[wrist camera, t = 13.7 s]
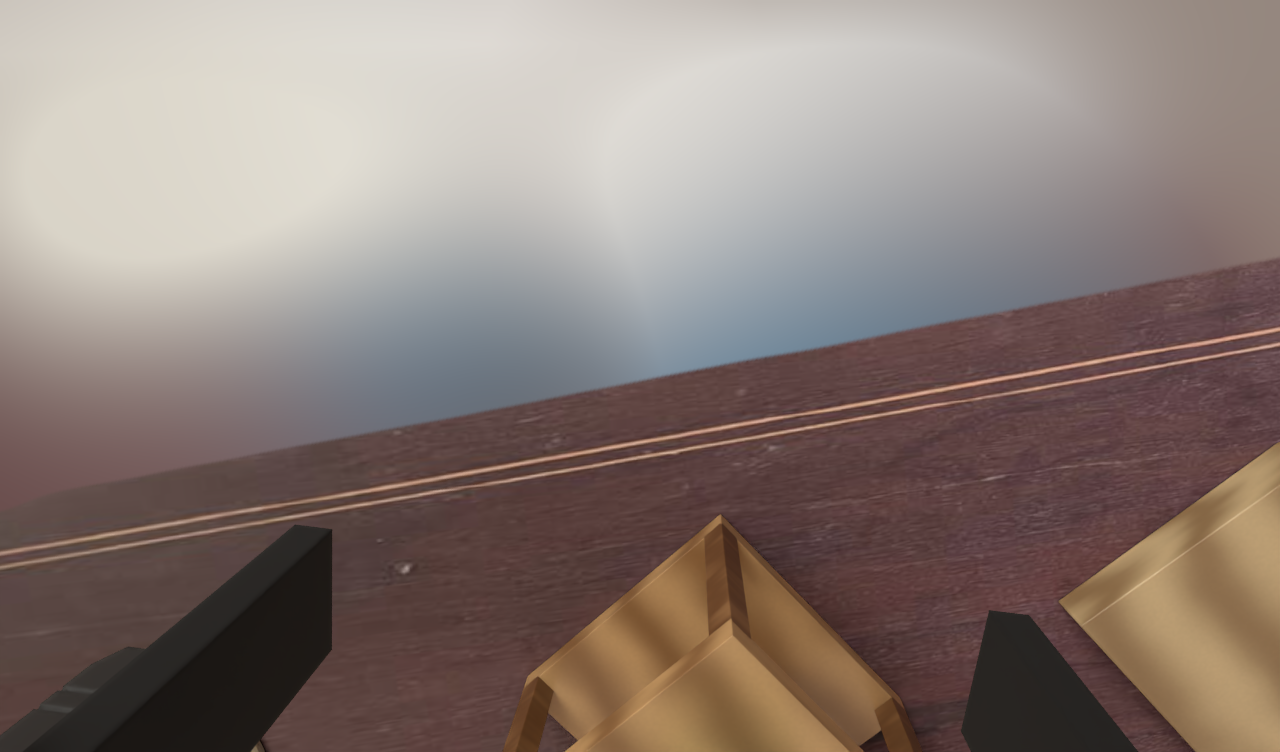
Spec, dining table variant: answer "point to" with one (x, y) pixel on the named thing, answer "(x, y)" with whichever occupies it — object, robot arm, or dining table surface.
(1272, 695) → the wooden square board
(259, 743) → the tableware set
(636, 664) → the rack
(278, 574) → the robot arm
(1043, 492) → the dining table surface
